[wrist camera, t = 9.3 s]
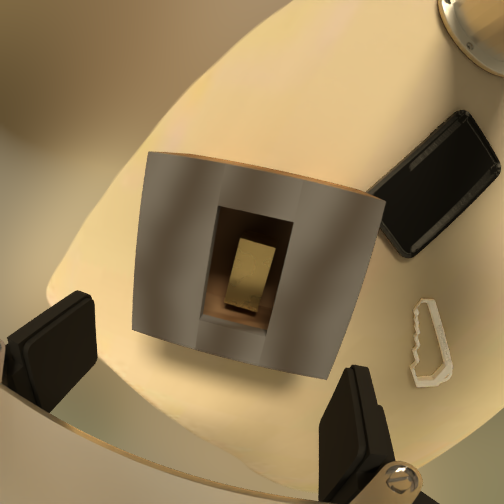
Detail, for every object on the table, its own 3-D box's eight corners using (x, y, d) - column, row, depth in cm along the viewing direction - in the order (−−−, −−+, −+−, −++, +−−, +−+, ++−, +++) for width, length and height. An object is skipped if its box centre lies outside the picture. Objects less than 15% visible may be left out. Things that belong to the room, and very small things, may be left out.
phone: (504, 169, 24) (406, 263, 28) (498, 169, 25) (403, 259, 29) (464, 104, 23) (358, 198, 27) (458, 106, 24) (356, 197, 28)
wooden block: (278, 238, 29) (275, 248, 26) (261, 296, 31) (256, 312, 28) (246, 229, 29) (240, 237, 26) (231, 287, 31) (223, 302, 28)
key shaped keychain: (388, 310, 31) (392, 317, 30) (428, 289, 30) (433, 295, 28) (417, 392, 33) (421, 400, 31) (452, 374, 32) (456, 382, 30)
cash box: (359, 190, 28) (385, 201, 19) (321, 326, 32) (326, 379, 23) (190, 154, 29) (148, 151, 20) (170, 289, 33) (131, 329, 24)
